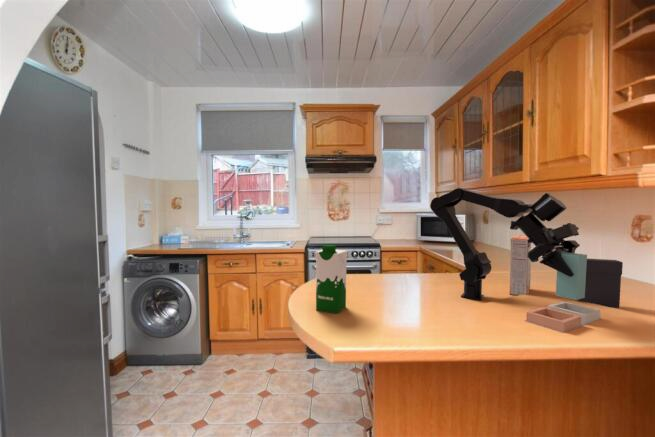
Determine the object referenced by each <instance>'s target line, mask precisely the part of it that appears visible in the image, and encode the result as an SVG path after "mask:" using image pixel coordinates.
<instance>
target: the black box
mask: <svg viewBox="0 0 655 437" xmlns="http://www.w3.org/2000/svg"><path fill="white" fill-rule="evenodd" d="M623 264H624V263H623V262H622V261H620V260H617V259H604V258H602V259H600V258H587V265H586V283H585V298H582V299H579V300H576V301H577V302H581V303H589V304H594V305H598V306H604V307H607V308H615V309H618V308H620V303H621V285H622V284H621V282H622V275H623Z"/></svg>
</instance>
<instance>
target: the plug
mask: <svg viewBox="0 0 655 437" xmlns="http://www.w3.org/2000/svg"><path fill="white" fill-rule="evenodd" d="M561 257H562V259H563V260H564V261H565V263H566V264H567V265H568V267H569V268H570V269H571V271H572V272H573V274H574V275H573V276H572V277H569V276H567V275H565V274H563V273H561V272H559V271H557V270H556V280H555V281H556V284H555V296H557V297H561V298H565V299H569V300H574V301H577V300H579V299H582V298H585V283H586V265H587V259H588V254H583V253H576V252H575V253H568V252H565V253H561Z"/></svg>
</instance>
